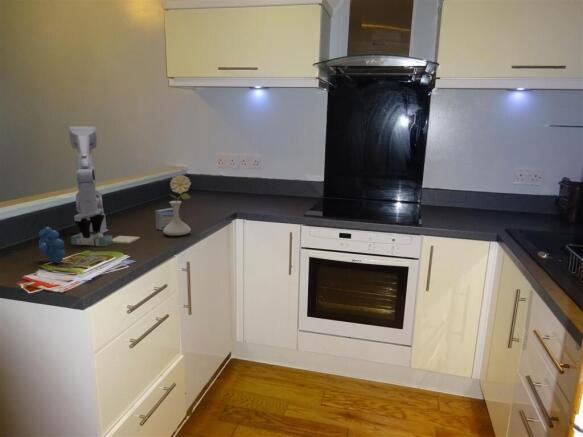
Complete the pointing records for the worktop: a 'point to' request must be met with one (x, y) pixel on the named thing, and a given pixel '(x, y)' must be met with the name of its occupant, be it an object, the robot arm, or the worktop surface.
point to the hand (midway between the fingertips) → (91, 235)
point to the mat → (125, 239)
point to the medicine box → (163, 218)
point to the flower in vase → (176, 225)
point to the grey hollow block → (91, 238)
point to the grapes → (51, 245)
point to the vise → (99, 242)
